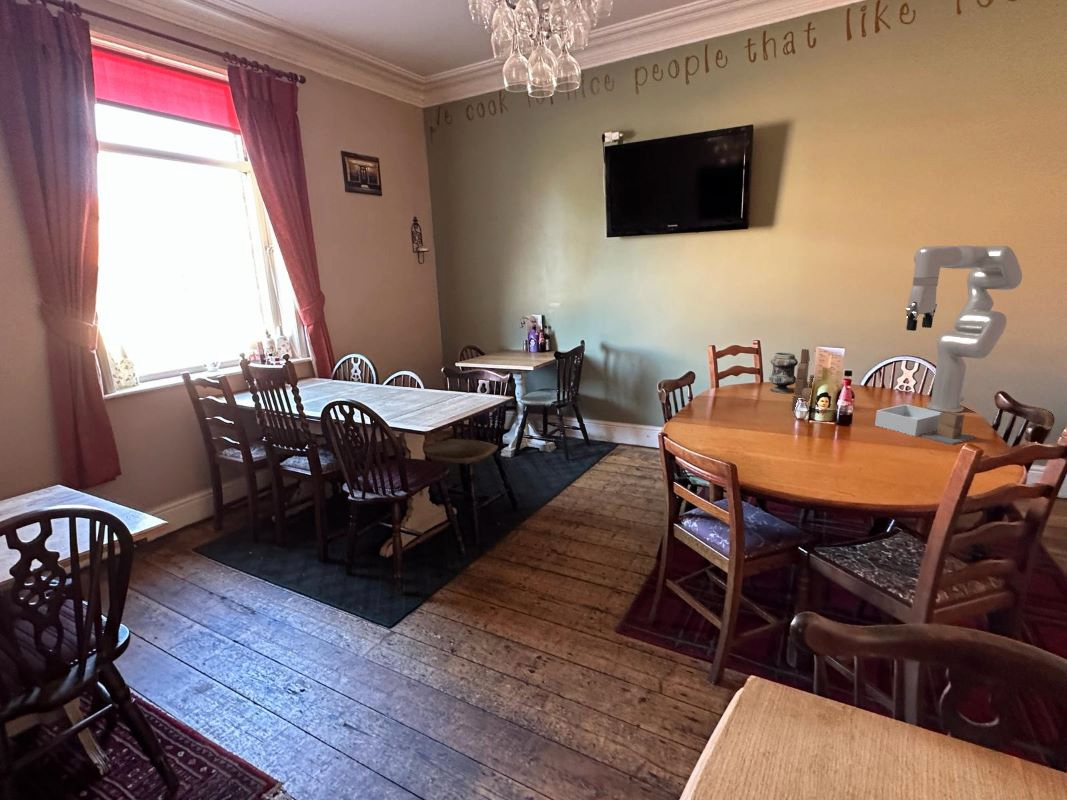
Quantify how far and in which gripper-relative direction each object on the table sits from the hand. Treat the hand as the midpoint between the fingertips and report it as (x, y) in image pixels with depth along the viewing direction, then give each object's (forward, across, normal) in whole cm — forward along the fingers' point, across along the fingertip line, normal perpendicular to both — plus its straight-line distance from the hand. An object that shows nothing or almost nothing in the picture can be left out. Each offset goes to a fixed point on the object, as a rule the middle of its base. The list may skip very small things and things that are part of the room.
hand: (918, 328), depth 203 cm
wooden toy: (+35, +19, -31) cm, 50 cm away
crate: (+35, +11, +7) cm, 37 cm away
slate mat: (+35, +12, +20) cm, 42 cm away
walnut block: (+34, +11, +20) cm, 41 cm away
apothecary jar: (+35, +3, -56) cm, 66 cm away
